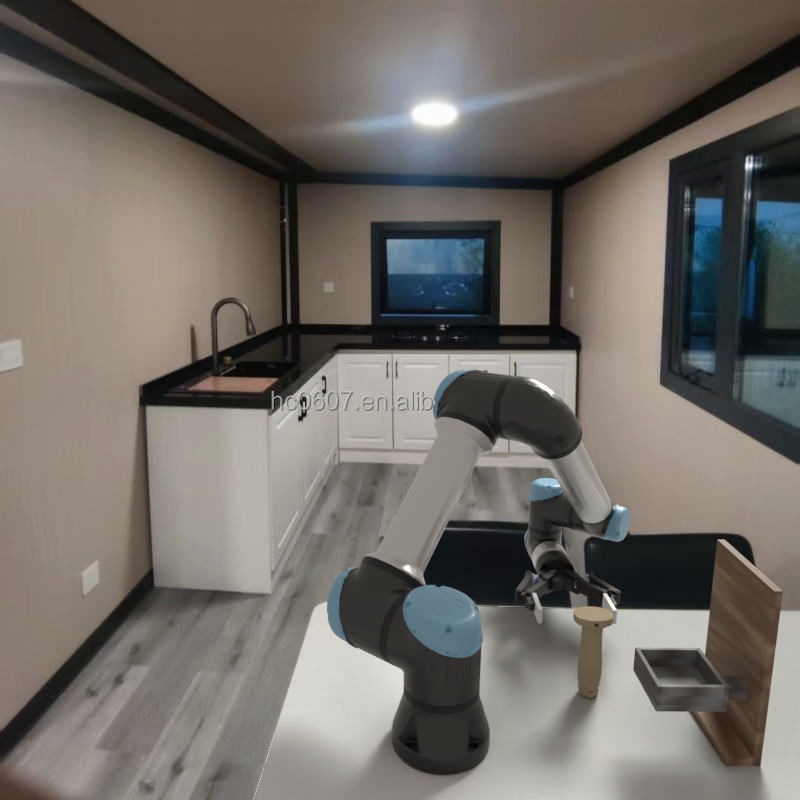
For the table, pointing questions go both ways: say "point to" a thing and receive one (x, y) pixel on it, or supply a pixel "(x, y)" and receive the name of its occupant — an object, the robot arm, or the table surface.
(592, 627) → the handle
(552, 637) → the table surface
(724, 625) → the bracket
